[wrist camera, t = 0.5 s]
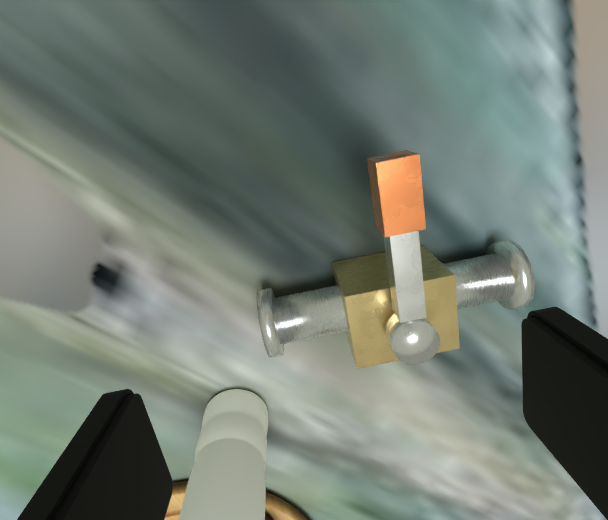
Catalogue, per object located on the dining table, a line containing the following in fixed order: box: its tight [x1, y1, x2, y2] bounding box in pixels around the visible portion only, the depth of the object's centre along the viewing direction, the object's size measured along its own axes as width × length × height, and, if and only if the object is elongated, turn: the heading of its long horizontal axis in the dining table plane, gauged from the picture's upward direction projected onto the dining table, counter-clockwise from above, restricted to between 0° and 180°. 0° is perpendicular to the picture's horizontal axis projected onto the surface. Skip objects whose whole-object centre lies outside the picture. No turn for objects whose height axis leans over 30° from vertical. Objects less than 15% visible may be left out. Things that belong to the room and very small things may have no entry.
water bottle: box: [179, 389, 268, 520], centre depth 33 cm, size 7×7×25 cm
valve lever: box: [367, 150, 440, 365], centre depth 29 cm, size 16×4×3 cm, turn 11°
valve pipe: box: [257, 240, 535, 369], centre depth 37 cm, size 7×24×9 cm, turn 101°
